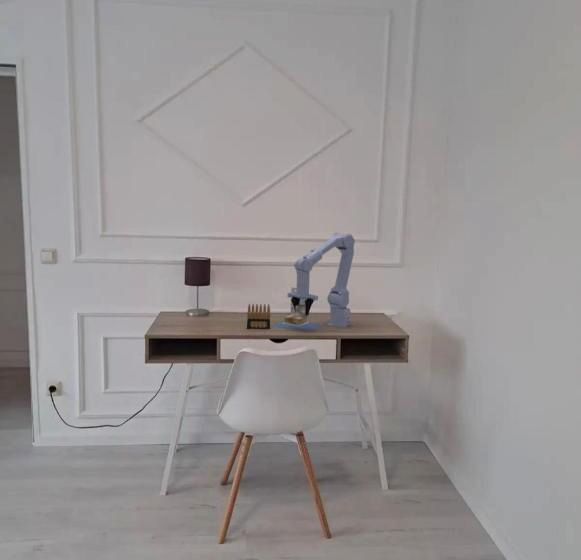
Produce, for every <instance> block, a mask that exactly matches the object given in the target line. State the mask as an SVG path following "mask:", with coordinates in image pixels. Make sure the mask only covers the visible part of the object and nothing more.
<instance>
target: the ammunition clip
mask: <svg viewBox="0 0 581 560" xmlns="http://www.w3.org/2000/svg"><path fill="white" fill-rule="evenodd" d="M247 305H248V306H247V315H246V330H247V329H248V330H271V306H270V303H269V304H268V305H267V307H266V303H264V304H263V305H262V303H260V305H258V303H256V305H255V304H254V303H252V305H251V304H250V303H248V304H247Z"/></svg>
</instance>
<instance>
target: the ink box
mask: <svg viewBox="0 0 581 560" xmlns="http://www.w3.org/2000/svg"><path fill="white" fill-rule="evenodd" d="M290 290H291V292H290V293H296V291H297V287H291V289H290ZM303 298H306V297H303ZM291 299H292V297H290V300H291ZM305 300H307V299H301V298H300V303H299V305H300V304H301V305H305ZM292 314H294V315H295V309H294V306H293V303H292V302H291V301H290V315H292Z"/></svg>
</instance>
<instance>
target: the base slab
mask: <svg viewBox="0 0 581 560" xmlns="http://www.w3.org/2000/svg"><path fill="white" fill-rule="evenodd" d="M307 319H308V317H305V318H302V317H295V315H294V314H289V315H287V316H284V320H285V321H284V320H283V321H284V323H287V324H294V325H301V324H304V323H306V322H308V320H307Z"/></svg>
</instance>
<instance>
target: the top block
mask: <svg viewBox="0 0 581 560" xmlns="http://www.w3.org/2000/svg"><path fill="white" fill-rule="evenodd" d="M305 310H306V307H305V305H301V304H300V305H297V306H296V314H295V317H302V318H305V317H307V318H308V317H309V315H310V314H309V315H306V314H305Z"/></svg>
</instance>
